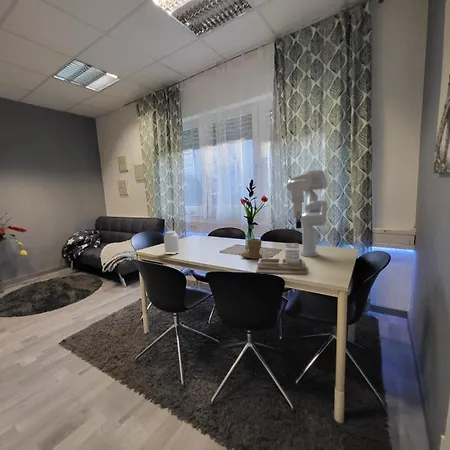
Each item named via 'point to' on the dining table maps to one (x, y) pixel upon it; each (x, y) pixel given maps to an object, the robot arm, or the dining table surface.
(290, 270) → the wooden frame
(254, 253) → the brown boots
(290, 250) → the ink cartridge box
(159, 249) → the dining table surface
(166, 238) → the white jar
